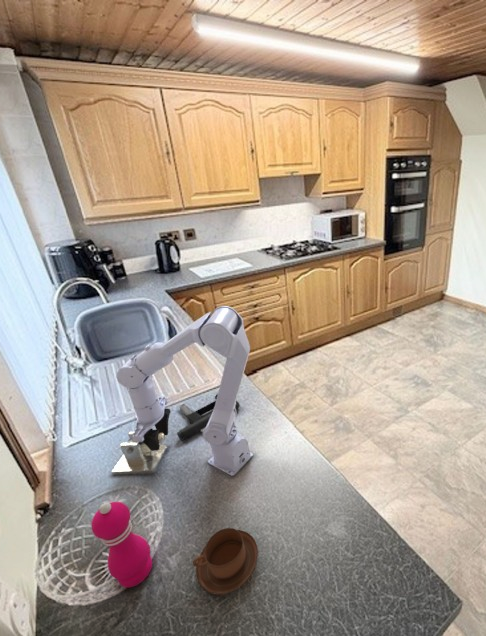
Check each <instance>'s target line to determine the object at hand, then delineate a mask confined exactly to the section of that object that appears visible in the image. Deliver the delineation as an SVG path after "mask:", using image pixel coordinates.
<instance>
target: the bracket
mask: <svg viewBox="0 0 486 636" xmlns="http://www.w3.org/2000/svg"><path fill="white" fill-rule="evenodd" d="M134 432H135V430H134V431H129V432H128V438H129V439H130V438H133V437H132V436H133V434H134ZM159 445H160V448H159V450H158V451H151V450H150V449H149V448H148V446H147V445H146V444H142V446H141V447H140V445H139V443H138V442H132V443H127V442H121V443H120V445H119V447H120V449H121V451H122V456H121V457H120V458H119V460H118V461H117V463H116V465H115V466H114V467H113V469H112V470H111V473H112V475H136V474H137V475H143V474H145V475H146V474H147V475H148V474H155V472H156V471H157V468H158V467H159V465H160V463H161V461H162V460H163V458H164V456H165V454H166V452H167V450H168V448H169V445H168V444H159Z"/></svg>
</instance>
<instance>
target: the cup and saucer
mask: <svg viewBox="0 0 486 636" xmlns="http://www.w3.org/2000/svg"><path fill="white" fill-rule="evenodd" d="M258 549H259V548H258V545H257V542H256V540H255V538H254V537H253V536H252V535H251V534H250V533H249V532H247V531H245V530H242V529H236V528H233V527H226V528H222V529H220V530H218V531H216V532H215V533H213V534H212V535H211V536H210V537H209V539H208V540H207V542H206V544H205V546H204V547H203V549H202V551H201V552H200V554H199V556H197V557H195V558H194V559H193V560H192V565H193V566H194V568H195V569H196V570H195V572H196V573H195V574H196V579H197V581H198V583H199V585H200V586H201V587H202V588H203V589H204V590H205V591H206V592H208V593H210V594H213V595H225V594H229V593H232V592H235V591H236V590H237V589H239V588H241V587H242V586H243V585H244V584H245V583H246V582H247V581H248V580H249V579H250V577H251V576H252V575H253V572H254V571H255V568H256V566H257V563H258V557H259V550H258Z"/></svg>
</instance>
